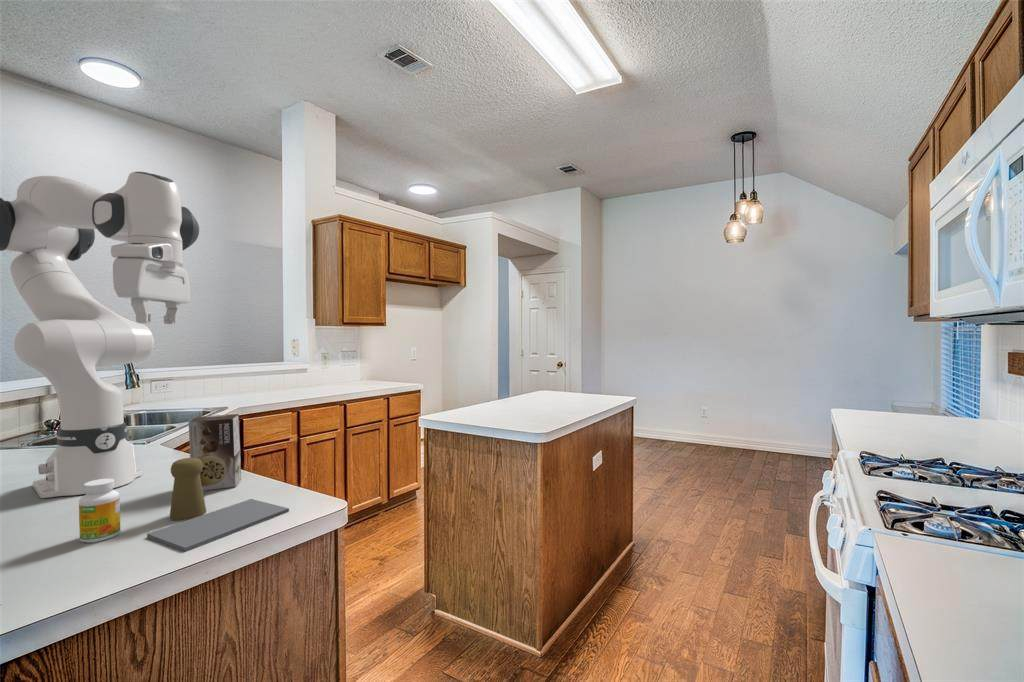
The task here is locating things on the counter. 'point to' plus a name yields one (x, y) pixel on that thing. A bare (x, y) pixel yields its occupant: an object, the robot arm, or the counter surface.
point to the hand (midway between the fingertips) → (157, 323)
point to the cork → (187, 490)
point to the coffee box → (216, 449)
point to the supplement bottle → (99, 511)
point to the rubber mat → (216, 524)
